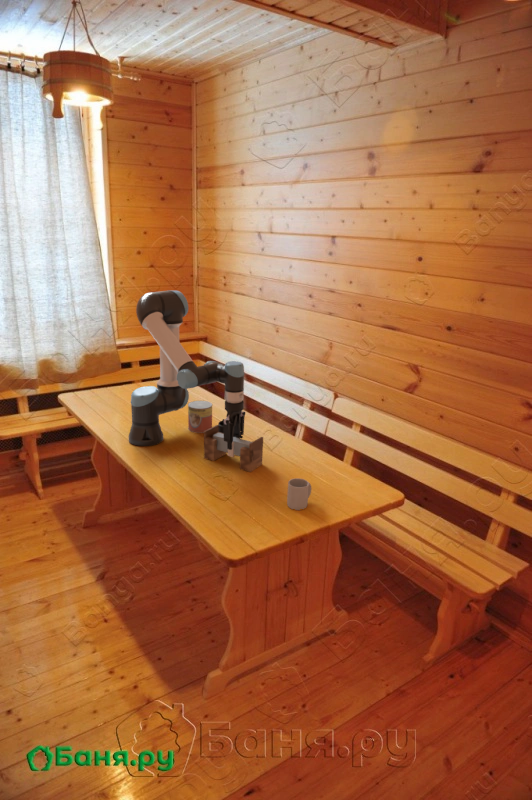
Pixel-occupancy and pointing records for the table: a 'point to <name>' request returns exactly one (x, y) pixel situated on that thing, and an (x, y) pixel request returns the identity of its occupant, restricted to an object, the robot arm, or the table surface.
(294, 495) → the cup
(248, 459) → the post foot
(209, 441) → the post head
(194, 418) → the canned food
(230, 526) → the table surface
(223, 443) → the rail
